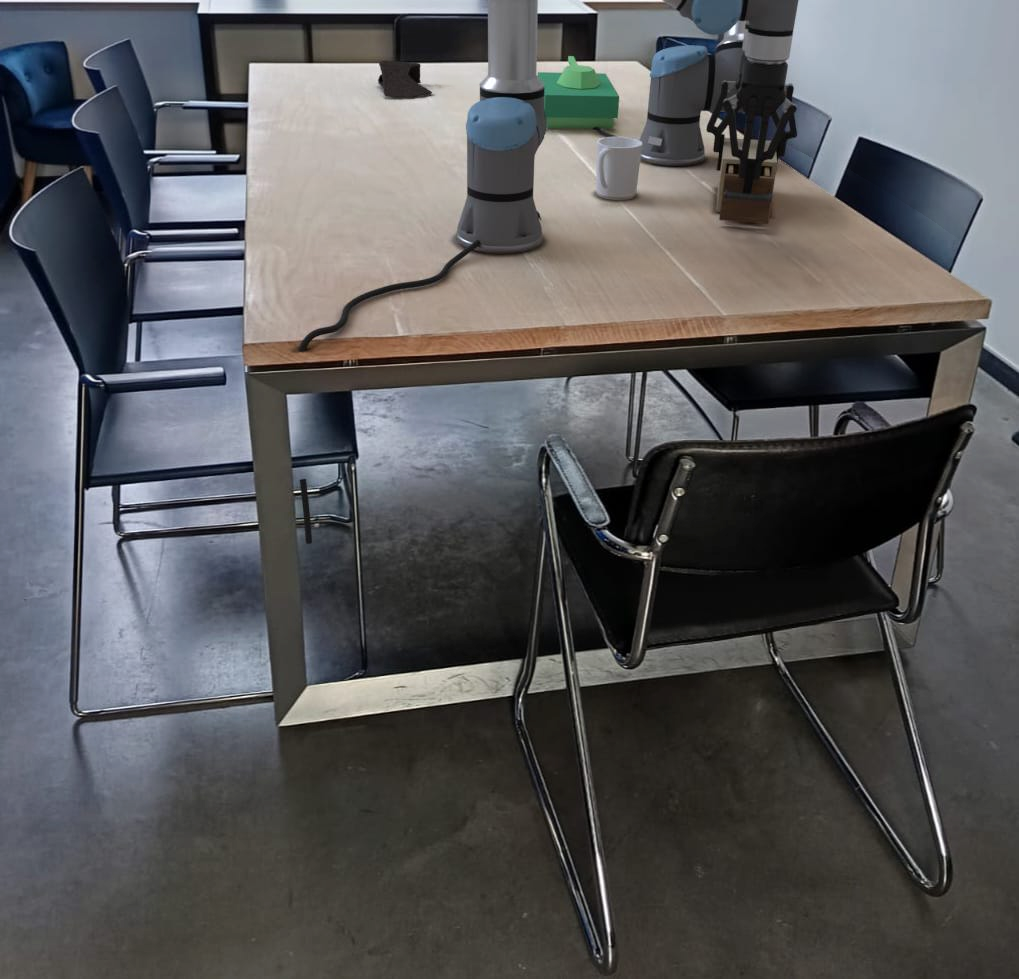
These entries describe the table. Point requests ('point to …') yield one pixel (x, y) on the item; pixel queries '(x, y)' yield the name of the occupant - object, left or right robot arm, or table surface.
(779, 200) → the table surface
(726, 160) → the cabinet
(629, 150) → the mug
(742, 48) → the right robot arm
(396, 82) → the axe head
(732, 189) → the drawer
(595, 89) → the toy tank
